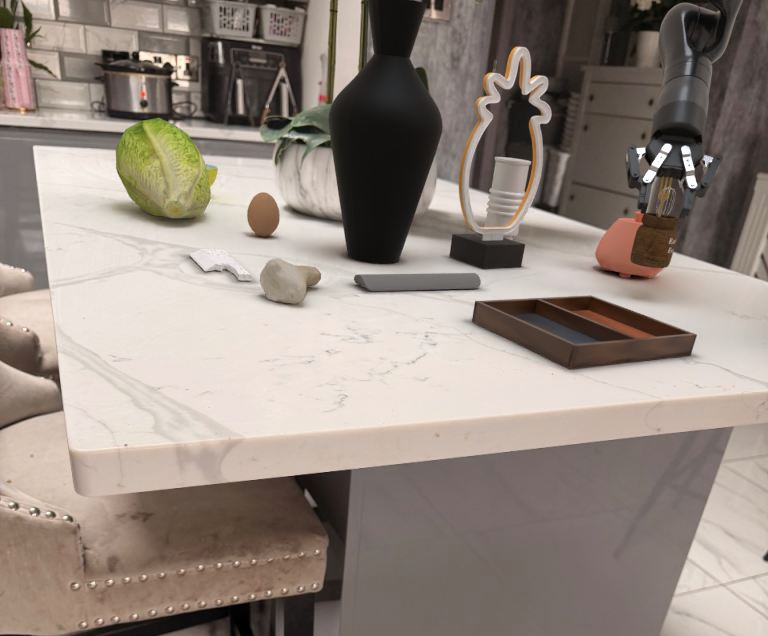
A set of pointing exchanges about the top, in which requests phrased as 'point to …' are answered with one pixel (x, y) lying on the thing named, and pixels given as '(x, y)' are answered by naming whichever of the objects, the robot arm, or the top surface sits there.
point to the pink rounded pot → (622, 249)
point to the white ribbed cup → (506, 192)
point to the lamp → (490, 242)
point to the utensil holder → (656, 235)
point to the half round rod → (418, 281)
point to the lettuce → (163, 170)
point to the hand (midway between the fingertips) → (663, 212)
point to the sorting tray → (582, 330)
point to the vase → (384, 137)
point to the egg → (263, 214)
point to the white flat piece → (219, 262)
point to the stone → (287, 281)
